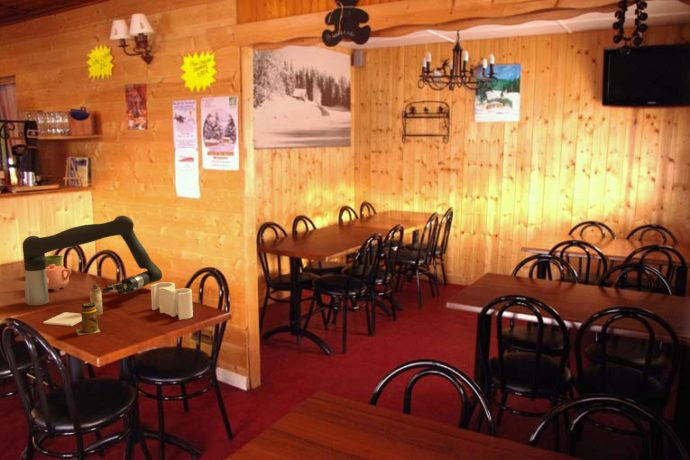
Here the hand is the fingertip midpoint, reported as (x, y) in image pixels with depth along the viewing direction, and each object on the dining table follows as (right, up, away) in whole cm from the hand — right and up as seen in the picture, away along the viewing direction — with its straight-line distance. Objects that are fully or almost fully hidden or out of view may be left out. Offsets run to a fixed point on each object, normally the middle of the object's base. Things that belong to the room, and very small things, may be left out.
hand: (111, 292), depth 274 cm
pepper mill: (-3, -9, -9) cm, 13 cm away
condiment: (+3, -13, -32) cm, 35 cm away
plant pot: (-58, +3, +59) cm, 83 cm away
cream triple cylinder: (+32, -9, -6) cm, 34 cm away
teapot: (-45, -2, +31) cm, 54 cm away
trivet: (-12, -11, -18) cm, 24 cm away
